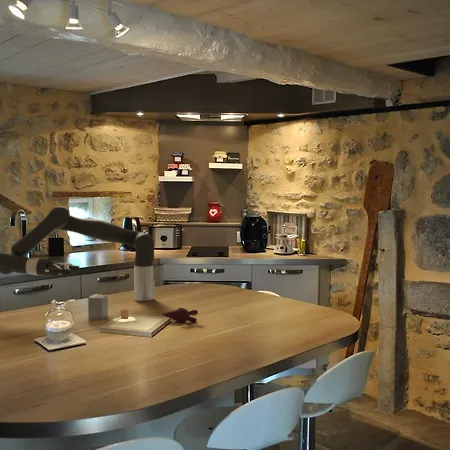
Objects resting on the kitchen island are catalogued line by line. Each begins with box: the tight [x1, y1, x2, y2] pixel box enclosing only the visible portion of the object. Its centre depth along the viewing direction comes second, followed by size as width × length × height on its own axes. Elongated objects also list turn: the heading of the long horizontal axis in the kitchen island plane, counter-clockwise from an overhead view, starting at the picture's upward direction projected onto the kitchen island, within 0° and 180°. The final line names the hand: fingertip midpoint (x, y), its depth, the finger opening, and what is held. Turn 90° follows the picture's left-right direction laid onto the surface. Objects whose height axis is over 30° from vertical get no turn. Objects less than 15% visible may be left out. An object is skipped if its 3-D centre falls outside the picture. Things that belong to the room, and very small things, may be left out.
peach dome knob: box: [120, 308, 129, 319], centre depth 222 cm, size 3×3×4 cm
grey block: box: [87, 293, 109, 321], centre depth 223 cm, size 6×6×10 cm
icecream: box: [161, 306, 199, 324], centre depth 220 cm, size 7×7×15 cm
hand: (75, 270), depth 222 cm, fingers open, 8 cm apart
